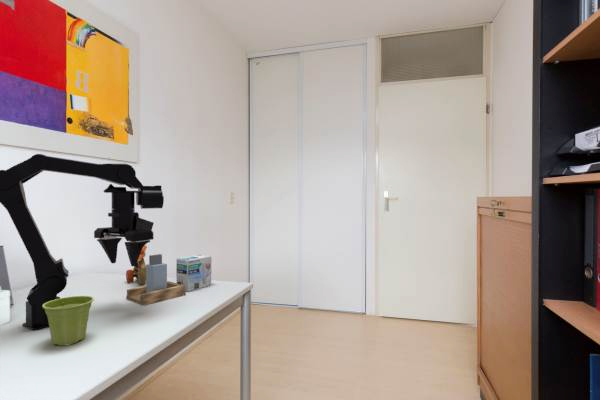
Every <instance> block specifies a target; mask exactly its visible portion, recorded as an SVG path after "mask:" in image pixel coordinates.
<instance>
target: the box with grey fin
mask: <svg viewBox="0 0 600 400" xmlns="http://www.w3.org/2000/svg"><path fill="white" fill-rule="evenodd" d="M148 257H149V260H148V263H145V265H146V283H145V284H146V285H145V286H146V293H148V292H153V291H157V290H162V289H166V288H167V281H168V264H167V263H164V262H163V253H157V254H152V255H151V254H150V255H149V256H148Z"/></svg>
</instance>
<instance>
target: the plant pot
mask: <svg viewBox="0 0 600 400" xmlns="http://www.w3.org/2000/svg"><path fill="white" fill-rule="evenodd" d="M94 300H95V298H94V296H90V295H75V296H73V295H72V296H65V297H60V299H55V300H52V301H49V302H46V303H44V304H43V305H42V307H43V308H44V309H45V313H46V314H47V317H48V322H49V326H48V327H49V333H50V339H51V344H52V345H58V346H68V345H73V344H77V343H78V342H79V341H83V340H84V339H85V338H86V334H87V328H88V321H89V316H90V315H89V314H90V310H91V307H92V303H93V302H94Z"/></svg>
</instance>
